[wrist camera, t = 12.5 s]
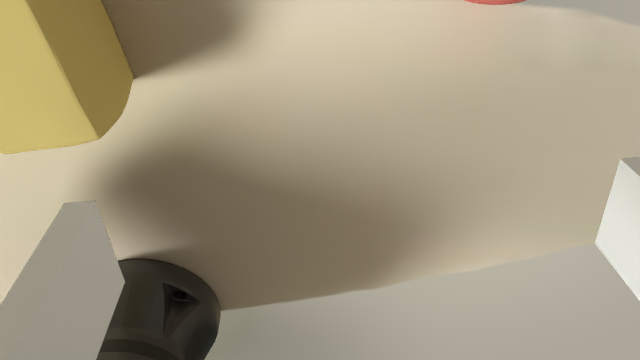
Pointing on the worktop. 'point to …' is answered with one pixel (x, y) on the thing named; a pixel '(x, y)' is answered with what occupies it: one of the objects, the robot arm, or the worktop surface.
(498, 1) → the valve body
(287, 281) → the worktop surface
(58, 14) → the cheese
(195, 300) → the robot arm
